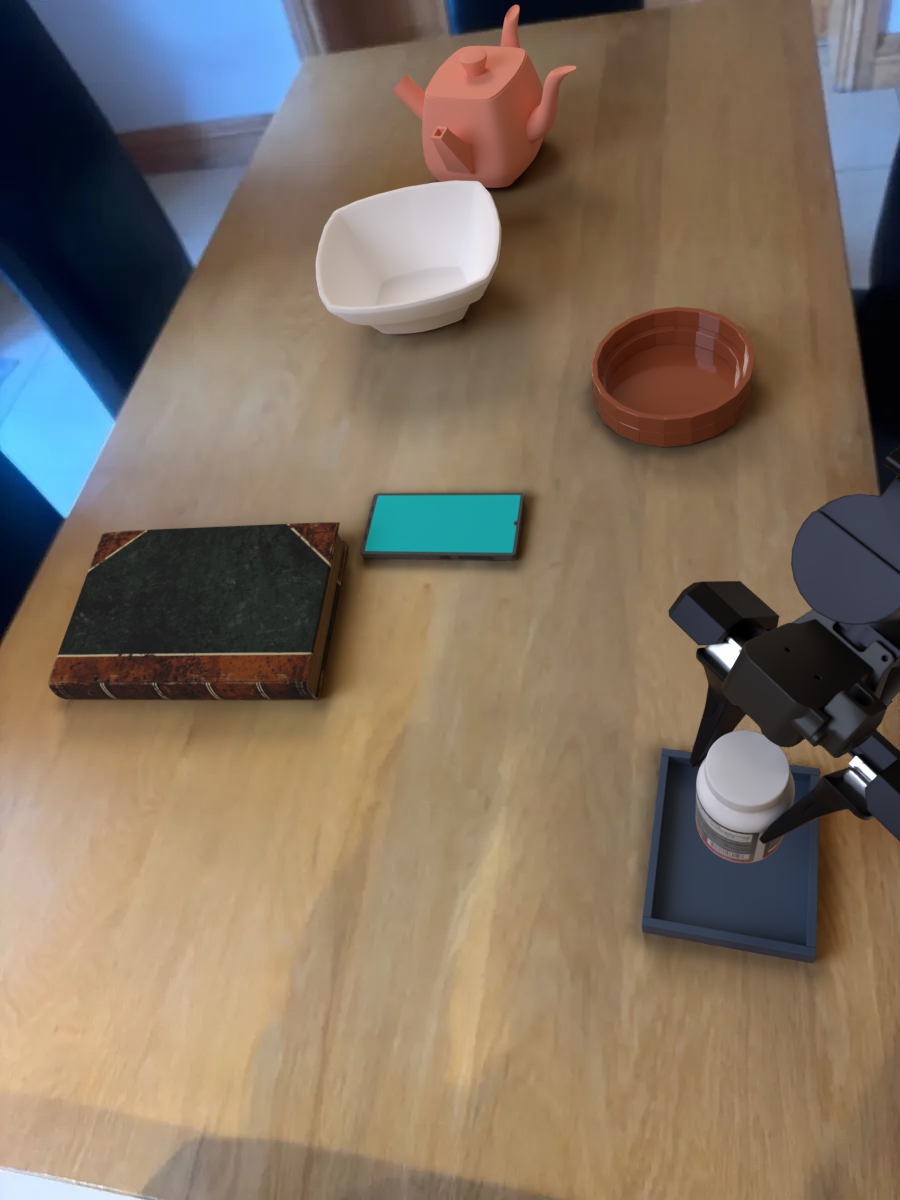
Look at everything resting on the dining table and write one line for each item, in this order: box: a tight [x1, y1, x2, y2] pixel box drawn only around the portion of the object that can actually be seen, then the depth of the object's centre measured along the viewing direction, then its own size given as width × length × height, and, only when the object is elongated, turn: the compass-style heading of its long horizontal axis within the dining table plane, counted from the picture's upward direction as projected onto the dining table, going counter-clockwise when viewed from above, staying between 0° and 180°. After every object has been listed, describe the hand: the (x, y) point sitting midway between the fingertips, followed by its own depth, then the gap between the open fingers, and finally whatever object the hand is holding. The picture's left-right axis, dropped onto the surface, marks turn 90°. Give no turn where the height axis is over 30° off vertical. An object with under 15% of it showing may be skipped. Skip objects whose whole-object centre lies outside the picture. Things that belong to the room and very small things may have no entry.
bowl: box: [315, 181, 502, 335], centre depth 102 cm, size 21×21×9 cm
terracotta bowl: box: [590, 306, 756, 448], centre depth 89 cm, size 15×15×4 cm
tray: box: [641, 747, 821, 964], centre depth 65 cm, size 13×11×2 cm
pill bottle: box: [695, 729, 795, 863], centre depth 57 cm, size 6×6×10 cm
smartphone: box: [359, 492, 526, 561], centre depth 87 cm, size 7×1×15 cm
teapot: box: [392, 4, 577, 189], centre depth 113 cm, size 18×18×14 cm
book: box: [47, 521, 349, 701], centre depth 85 cm, size 17×4×25 cm
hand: (727, 801), depth 55 cm, fingers closed on pill bottle, 6 cm apart
